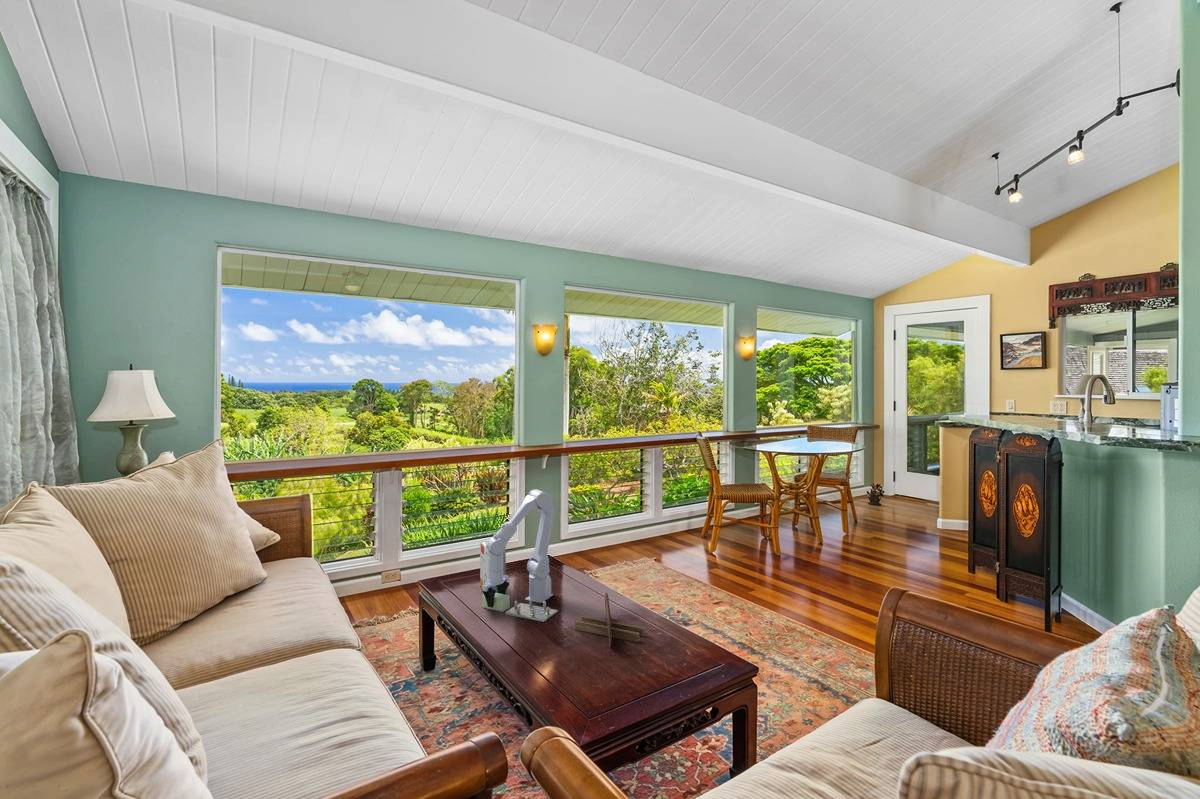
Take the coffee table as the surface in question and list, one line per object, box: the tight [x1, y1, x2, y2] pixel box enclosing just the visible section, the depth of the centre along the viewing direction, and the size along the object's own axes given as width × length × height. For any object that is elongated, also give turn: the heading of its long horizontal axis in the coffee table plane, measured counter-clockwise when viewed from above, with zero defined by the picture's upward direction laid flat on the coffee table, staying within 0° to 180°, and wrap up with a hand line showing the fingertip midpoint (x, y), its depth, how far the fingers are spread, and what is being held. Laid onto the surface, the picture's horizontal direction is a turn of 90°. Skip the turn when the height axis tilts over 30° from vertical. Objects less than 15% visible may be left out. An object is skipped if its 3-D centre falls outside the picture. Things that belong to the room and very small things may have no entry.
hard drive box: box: [479, 540, 507, 595], centre depth 233 cm, size 16×8×20 cm, turn 25°
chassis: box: [505, 599, 559, 623], centre depth 209 cm, size 17×10×4 cm, turn 64°
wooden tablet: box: [604, 592, 613, 647], centre depth 192 cm, size 26×2×10 cm, turn 2°
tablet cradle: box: [574, 615, 645, 643], centre depth 192 cm, size 6×24×3 cm, turn 64°
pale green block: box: [481, 593, 511, 612], centre depth 215 cm, size 10×4×5 cm, turn 63°
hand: (495, 603), depth 215 cm, fingers open, 6 cm apart
